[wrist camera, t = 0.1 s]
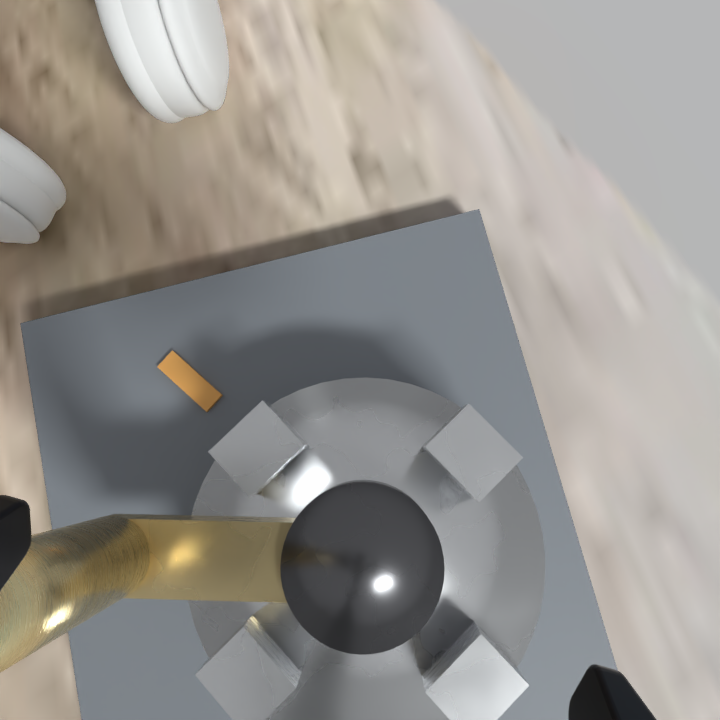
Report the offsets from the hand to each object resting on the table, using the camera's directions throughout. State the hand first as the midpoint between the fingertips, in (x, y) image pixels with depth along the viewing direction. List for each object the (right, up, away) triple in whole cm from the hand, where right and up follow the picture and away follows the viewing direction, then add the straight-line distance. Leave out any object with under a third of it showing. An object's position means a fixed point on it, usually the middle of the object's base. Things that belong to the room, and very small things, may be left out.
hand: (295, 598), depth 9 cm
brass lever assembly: (0, -3, +13) cm, 13 cm away
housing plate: (-1, -2, +15) cm, 15 cm away
